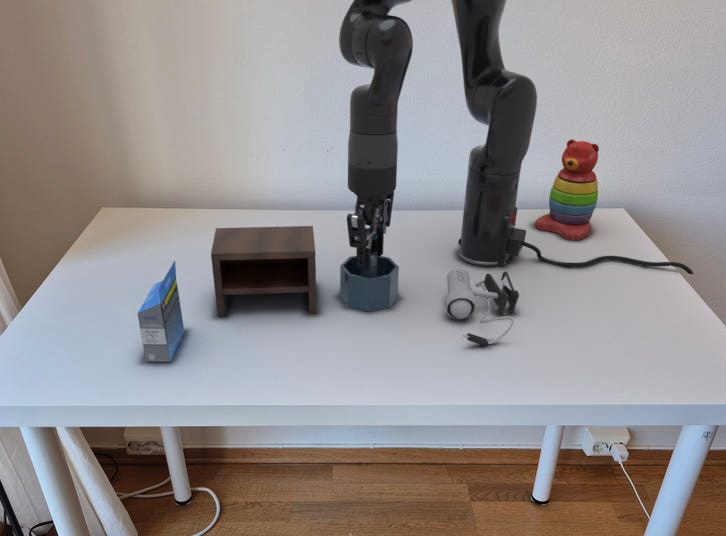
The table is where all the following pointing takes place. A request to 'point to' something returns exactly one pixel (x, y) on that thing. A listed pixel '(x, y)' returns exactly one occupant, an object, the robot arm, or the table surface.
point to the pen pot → (369, 285)
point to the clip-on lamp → (463, 298)
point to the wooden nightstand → (263, 262)
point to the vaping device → (372, 259)
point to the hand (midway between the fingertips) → (370, 260)
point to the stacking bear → (573, 193)
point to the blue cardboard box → (161, 319)
